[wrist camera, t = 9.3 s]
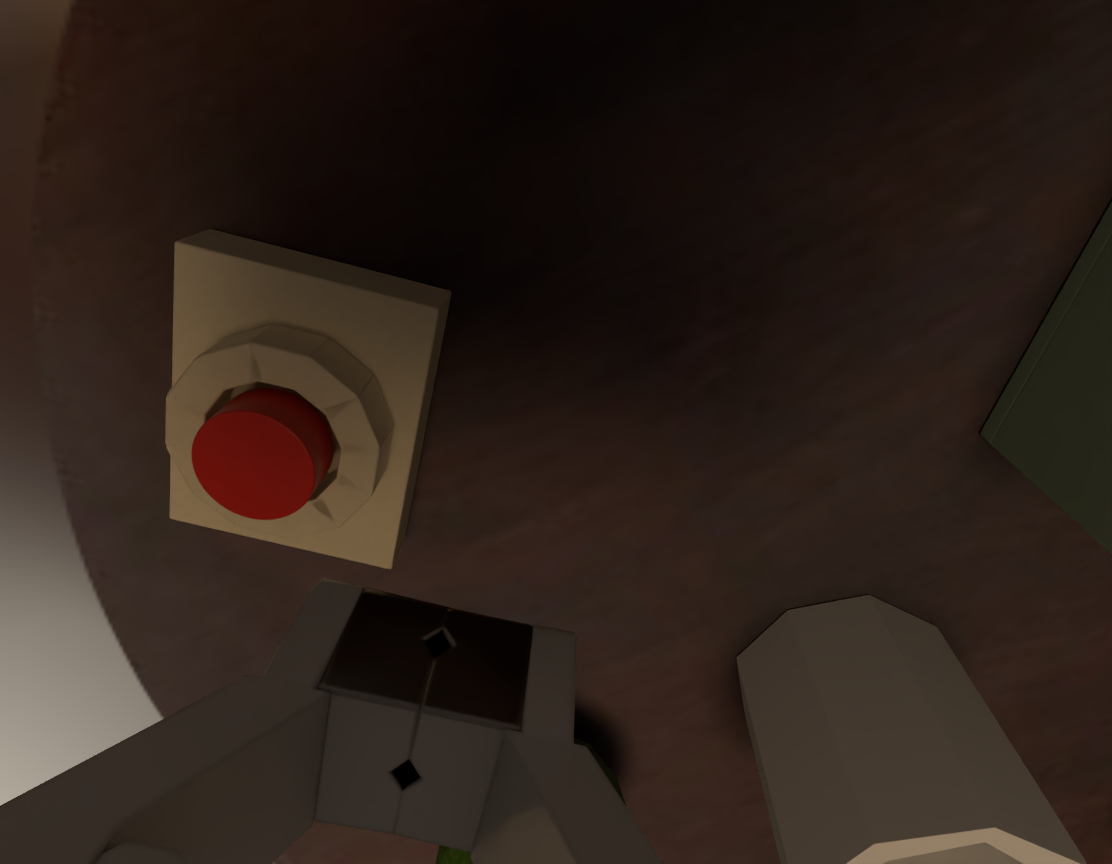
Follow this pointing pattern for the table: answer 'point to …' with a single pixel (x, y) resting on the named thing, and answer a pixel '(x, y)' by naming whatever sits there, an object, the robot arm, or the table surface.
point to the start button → (263, 454)
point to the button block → (306, 382)
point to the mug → (885, 747)
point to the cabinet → (1067, 396)
